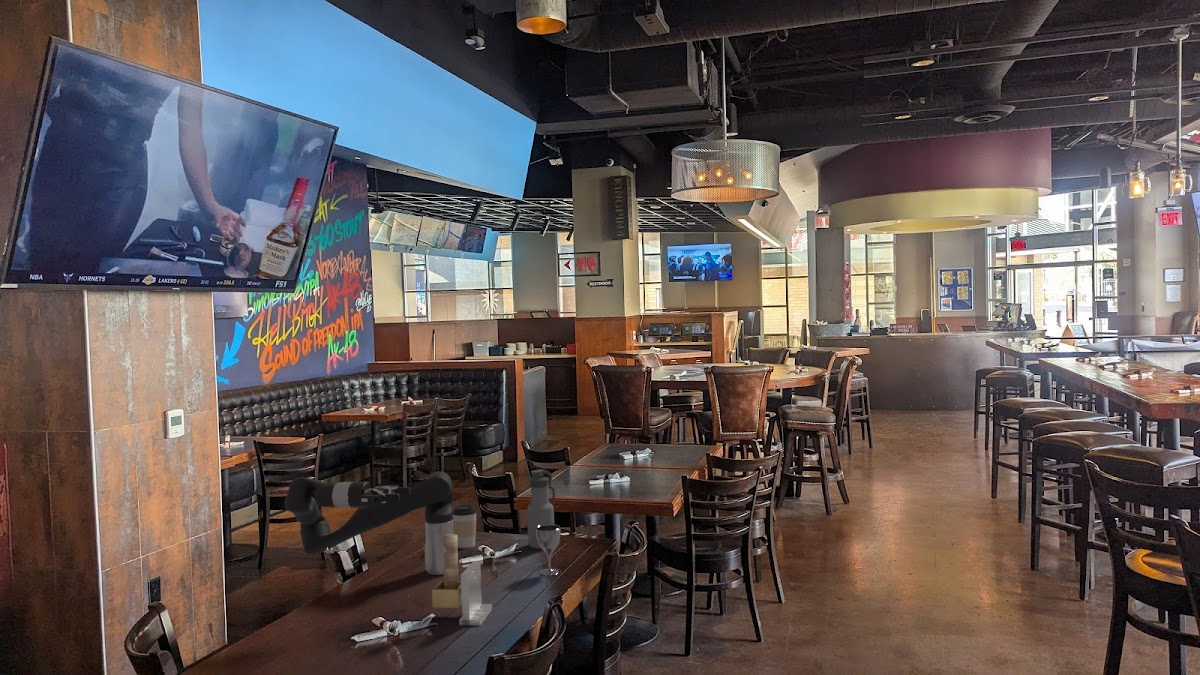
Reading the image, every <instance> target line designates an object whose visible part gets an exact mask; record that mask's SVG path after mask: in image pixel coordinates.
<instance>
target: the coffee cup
mask: <svg viewBox="0 0 1200 675" xmlns="http://www.w3.org/2000/svg"><path fill="white" fill-rule="evenodd" d="M477 512H478V511H477V508H475V507H474V505H471V504H462V505H458V506H456V507H454V509H453V531H454V534H456V535H458V549H469V548H472V547H475V545H476V533H477V532H476V531H477Z"/></svg>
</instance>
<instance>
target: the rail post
mask: <svg viewBox="0 0 1200 675" xmlns="http://www.w3.org/2000/svg"><path fill="white" fill-rule="evenodd" d="M458 549H459V548H458V535H456V534H455V533H454V534H447V535H444V536H443V554H444V574H443V581H444V589H457V588H458V581H459V554H458V553H459V552H458V551H459V550H458Z"/></svg>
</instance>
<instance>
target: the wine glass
mask: <svg viewBox="0 0 1200 675" xmlns="http://www.w3.org/2000/svg"><path fill="white" fill-rule="evenodd" d="M536 535H537V541H538V544H539V546H540V547H541V548H542V549H541V550H543V552H544V553H545V555H546V556H547V563H548V565H547V568H546V569H542V570H540V571H541V572H540V571H539V572H540V573H541V574H542V575H545V576H544V577H553V576H552V575H555V576H558V575H559V574H558V573H559V571H558V570H559V569H557V570H556V568H552V565H551V562H552V555H553V553H554V551H555V550H556V549H557V547H558V545H559V544H560V540H561V525H558V524H554V525H553V524H547V525H541V526H538V527H537V528H536ZM557 574H558V575H557ZM542 575H541V576H542ZM547 575H548V576H547Z"/></svg>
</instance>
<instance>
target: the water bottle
mask: <svg viewBox="0 0 1200 675" xmlns="http://www.w3.org/2000/svg"><path fill="white" fill-rule="evenodd" d="M530 475H531V478H530V479H529V487H530V503H529V505H528V506H527V508H526V509H527V511H526V512H527V513H526V514H527V535H528V536H527V537H528V539H527V540H528V542H527V543H528V546H529V547H530V548H532V549H534V548H535V549H536V550H543V549H542V548H541V547H540V546H539V544H538V541H537V535H536V528H537V527H538V526H541V525H547V524H553V525H555V512H554V511H555V509H554V508H555V507H554V505H553V504H552V503H551V502H550V501H554V500H555V499H556V492H555V491H556V490H555V487H554V486H552V482H553V475H552V473H551V472H550V471H549V470H547V469H536V470H535V469H534V470H531V471H530ZM549 489H551V491H552V497H550V495H549V494H550V493H549ZM535 549H534V550H535Z"/></svg>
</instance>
